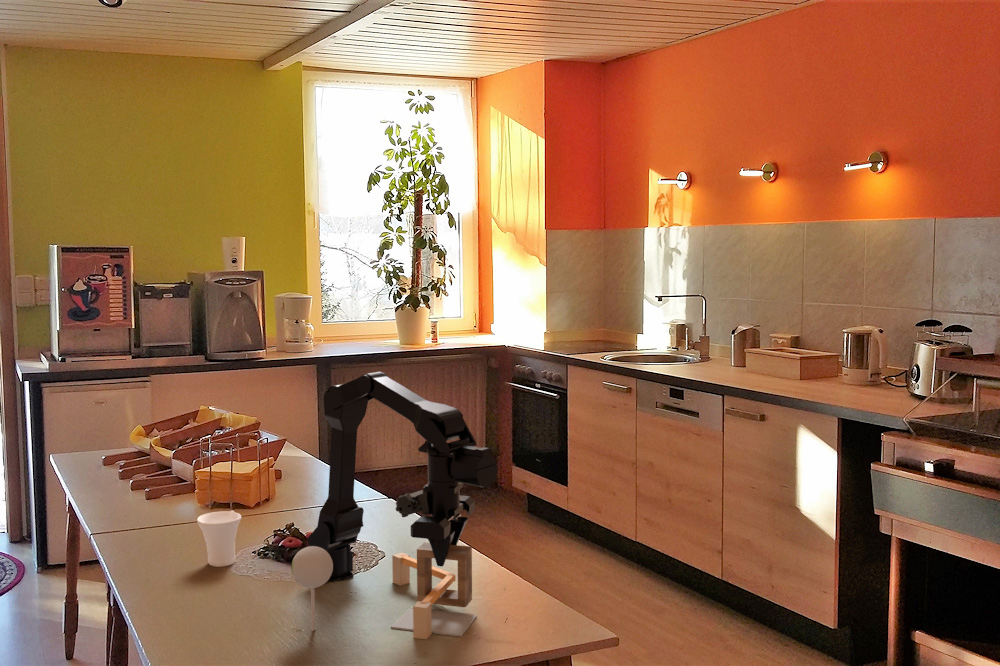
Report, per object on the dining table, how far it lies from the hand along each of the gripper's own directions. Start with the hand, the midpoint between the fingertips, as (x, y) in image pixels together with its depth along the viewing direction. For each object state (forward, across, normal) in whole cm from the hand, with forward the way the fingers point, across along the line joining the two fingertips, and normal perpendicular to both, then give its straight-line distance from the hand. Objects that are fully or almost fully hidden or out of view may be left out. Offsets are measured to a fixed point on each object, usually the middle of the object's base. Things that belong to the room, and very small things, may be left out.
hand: (444, 562), depth 180 cm
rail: (+9, -1, -5) cm, 11 cm away
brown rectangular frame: (+7, 0, 0) cm, 7 cm away
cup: (+9, -12, -54) cm, 56 cm away
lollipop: (+10, +14, -19) cm, 26 cm away
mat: (+9, +5, 0) cm, 11 cm away
